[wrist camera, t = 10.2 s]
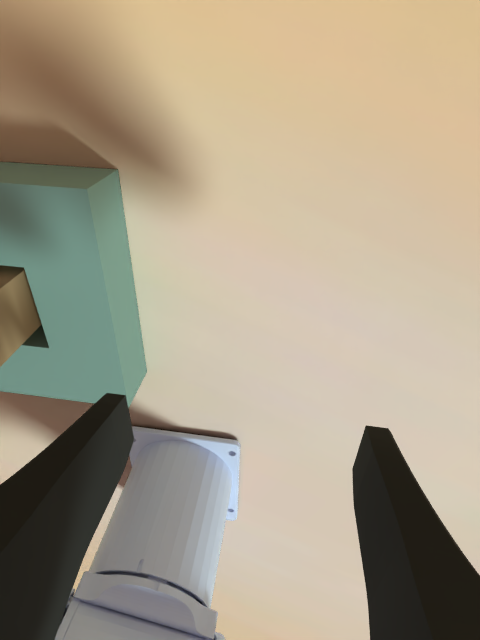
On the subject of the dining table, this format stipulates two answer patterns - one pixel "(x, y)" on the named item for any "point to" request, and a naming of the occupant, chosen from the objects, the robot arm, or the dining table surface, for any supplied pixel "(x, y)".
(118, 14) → the dining table surface
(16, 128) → the dining table surface
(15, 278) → the peg
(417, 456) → the dining table surface
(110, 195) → the socket block
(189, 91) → the dining table surface
